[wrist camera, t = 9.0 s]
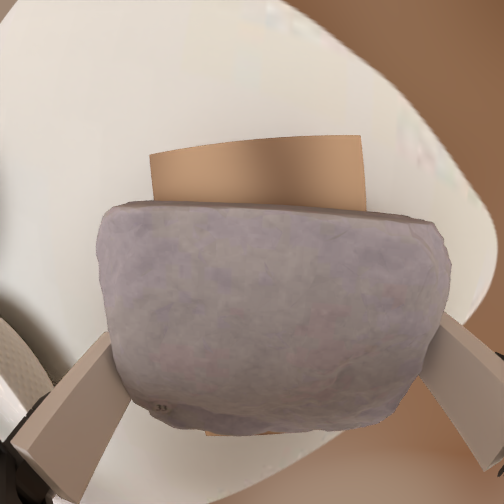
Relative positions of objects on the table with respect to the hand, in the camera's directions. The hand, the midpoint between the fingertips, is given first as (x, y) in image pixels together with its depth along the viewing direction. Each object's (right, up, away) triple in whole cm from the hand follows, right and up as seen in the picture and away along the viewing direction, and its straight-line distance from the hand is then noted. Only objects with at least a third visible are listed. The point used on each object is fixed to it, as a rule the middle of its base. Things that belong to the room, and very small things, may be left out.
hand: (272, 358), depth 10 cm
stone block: (0, +1, +2) cm, 2 cm away
